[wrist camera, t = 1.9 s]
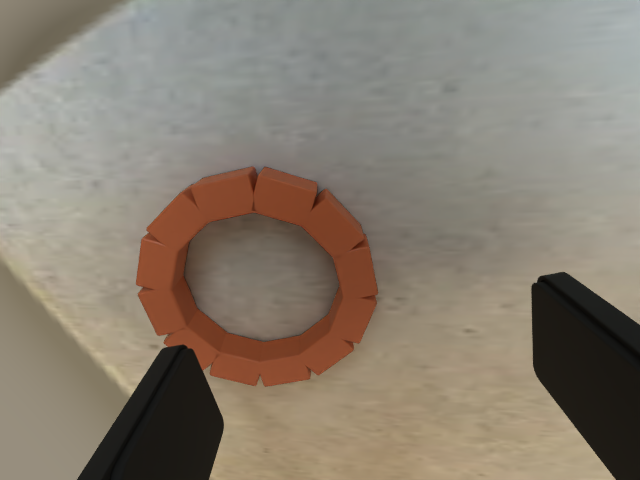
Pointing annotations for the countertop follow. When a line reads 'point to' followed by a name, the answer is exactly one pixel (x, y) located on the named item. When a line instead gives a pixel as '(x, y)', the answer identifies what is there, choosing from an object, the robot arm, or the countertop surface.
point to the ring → (276, 202)
